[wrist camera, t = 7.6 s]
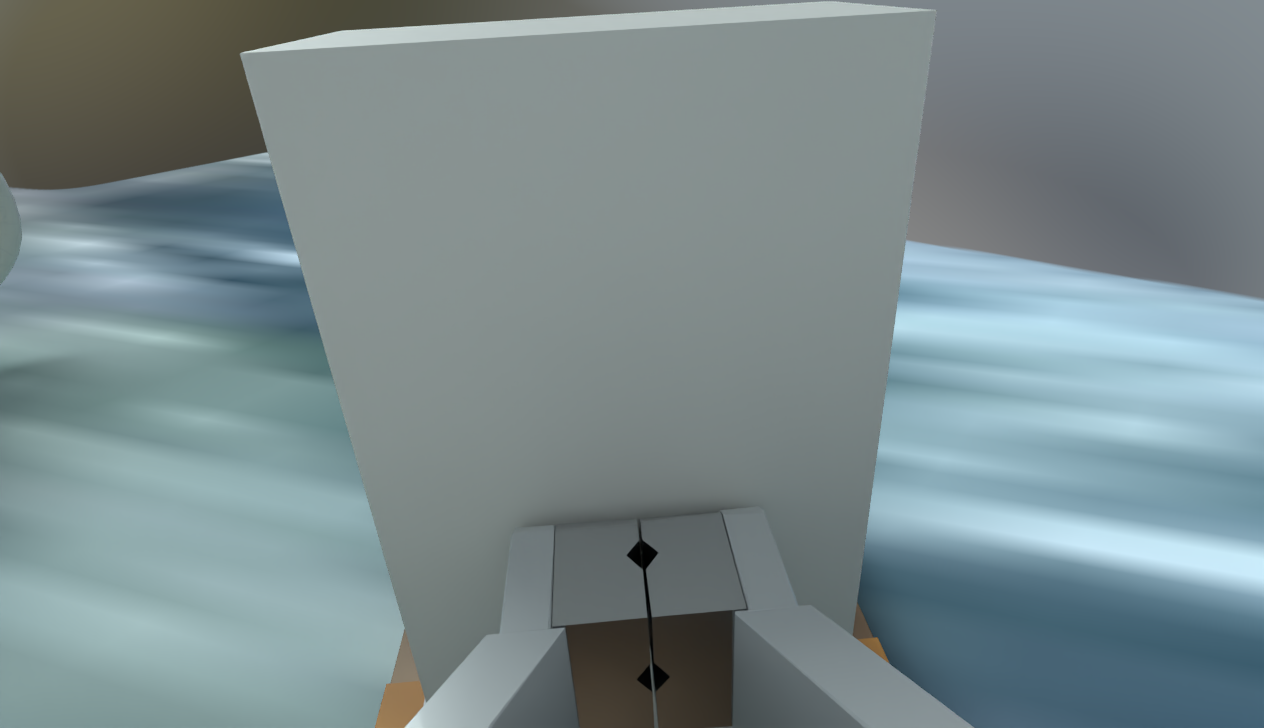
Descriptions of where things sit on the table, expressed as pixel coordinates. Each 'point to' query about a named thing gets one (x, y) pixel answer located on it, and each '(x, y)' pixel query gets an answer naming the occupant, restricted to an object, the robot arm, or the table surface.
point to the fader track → (409, 698)
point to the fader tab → (603, 277)
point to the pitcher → (8, 230)
